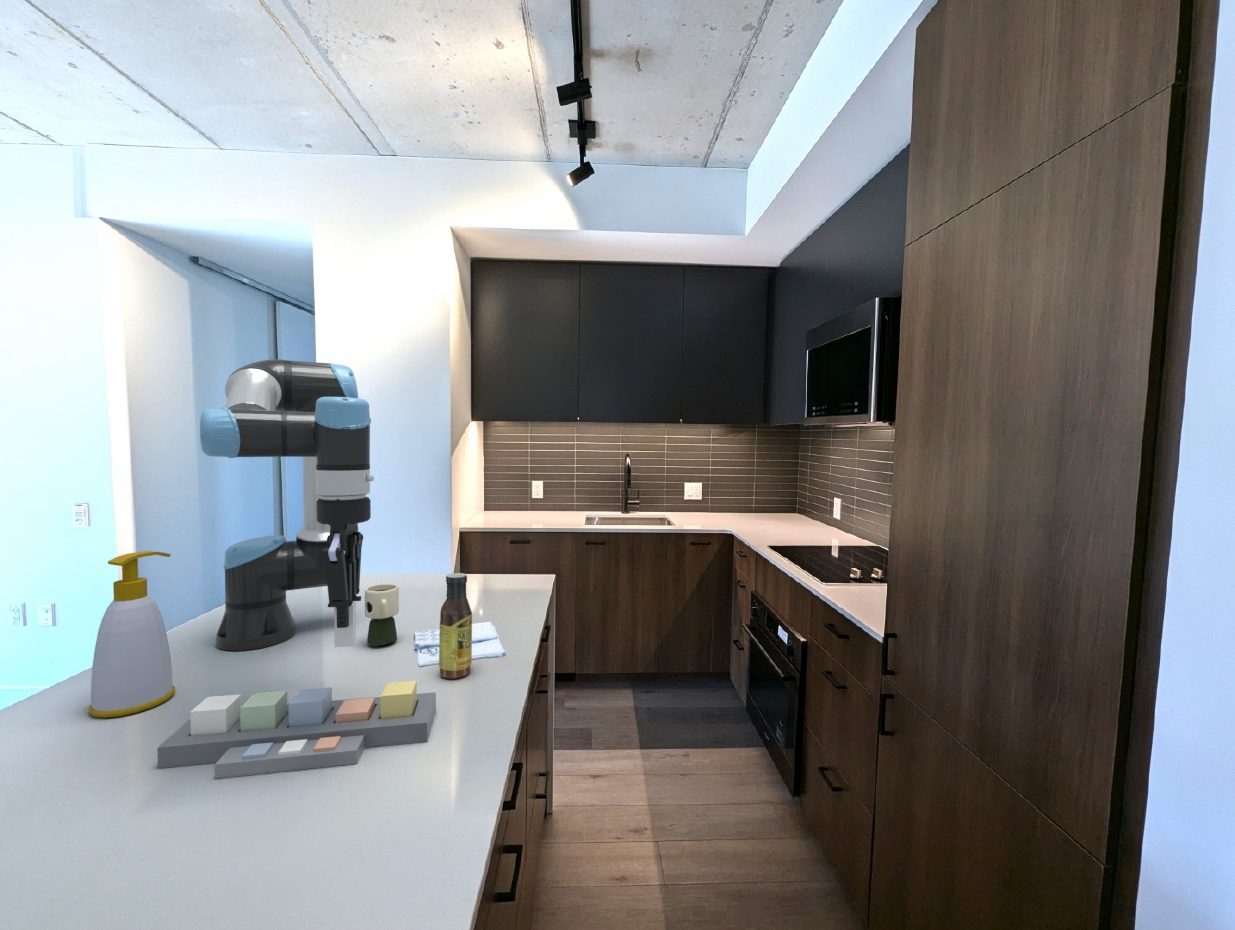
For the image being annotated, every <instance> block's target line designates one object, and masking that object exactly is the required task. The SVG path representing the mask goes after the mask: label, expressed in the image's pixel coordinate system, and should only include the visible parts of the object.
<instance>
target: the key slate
mask: <svg viewBox="0 0 1235 930" xmlns="http://www.w3.org/2000/svg"><path fill="white" fill-rule="evenodd" d="M332 688H333V687H332V686H331V687H329V686H328V687H318V688H317V687H315V688H305V689H302V688H301V689H300V690H298V692H297V693H296V694H295V696H294V697H293V698H292V699H291V700H290V702H288V704H289V727H298V726H309V725H320V724H324V723H325V721H326V720H327V718H328V717H329V715H330V714H331V712H332V701H333V689H332Z"/></svg>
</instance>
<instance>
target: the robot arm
mask: <svg viewBox="0 0 1235 930" xmlns="http://www.w3.org/2000/svg"><path fill="white" fill-rule="evenodd" d="M224 393H225V397H226V402H225V405H224V407H220V408H206V409H204V410H202V412H201V414H200V418H199V419H200V420H199V439H200V447H201V450H202V452H203V453H204V454H205V455H206V456H208V457H218V458H220V457H221V458H223V457H224V458H229V459H235V458H280V457H281V458H282V457H283V458H284V457H285V458H286V457H289V458H290V457H292V458H295V457H296V458H301V457H302V458H303V459H302V471H303V473H302V477H303V478H302V483H303V485H302V487H303V488H302V489H303V491H302V492H303V495H302V496H303V497H302V499H303V500H302V501H303V508H302V510H303V511H302V512H303V526H302V527H301V528H299V530H298V531H297V532H296V534H295V537H296V538H295V540H288V541H287V538H286V537H285V536H284V535H281V534H277V535H275V534H274V535H266V536H259V537H253V538H250V539H246V540H242V541H239V542H235V543H234V544H231V545H230V546H228V547H227V548H226V550H225V553H224V565H223V570H224V600H225V601H224V603H225V606H224V607H225V611H224V613H223V616H222V619H221V622H220V624H219V627H218V630H217V633H216V636H215V643H216V644H215V645H216V648H217V649H220V650H223V651H229V652H234V651H235V652H236V651H238V652H239V651H250V650H257V649H261V648H266V647H271V646H274V645H277V644H280V643H282V642H285V641H287V640H289V639H291V638H292V637H293V636H294V635H296V622H295V620H294V616H293V614H292V613H291V610H290V608H289V605H288V603H287V592H288V591H296V590H303V589H312V588H321V587H327V594H328V595H327V596H328V604H327V608H333V612H334V613H333V614H334V615H333V617H334V623H333V624H334V631H333V632H334V648H343V647H344V648H345V647H348V648H349V647H354V645H355V644H357V623H356V622H357V621H356V619H357V618H356V617H357V615H356V614H357V611H356V607H357V606H356V602H361V601H362V596H361V595H359V593H360V591H361V590H360V586H361V585H360V583H361V582H360V581H361V564H362V563H361V562H362V547H363V540H364V535H363V533H362V532H361V531H359V527H358V526H359V525H358V524H361V523H365V522H368V521H369V520H370V519H371V509H372V508H371V504H372V503H371V499H370V497H369V496H367V495H369V494H370V492H371V482H373V481H374V480H375V477H374V475H372V474H371V471H370V469H371V464H370V461H371V460H370V458H371V457H370V455H371V453H370V449H371V448H370V447H371V444H370V443H371V439H370V438H371V423H372V418H371V417H370V415H371V414H370V404H369V402H368V401H367V400H366V399H363V398H359V392H358V386H357V381H356V376H355V374H354V371H353V370H352V369H351V367H349V366H347V365H343V364H338V363H337V364H336V363H331V362H316V361H313V362H312V361H301V360H286V359H277V358H276V359H274V358H273V359H266V360H265V359H264V360H259V361H255V362H251V363H248V364H245V365H244V366H241V367H239V368H237V369H236V370H235V371H233V372H232V373H231V374H230V375H229V377H228V378H227V380H226V382H225V386H224ZM357 595H359V596H357Z"/></svg>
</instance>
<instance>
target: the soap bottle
mask: <svg viewBox="0 0 1235 930" xmlns="http://www.w3.org/2000/svg"><path fill="white" fill-rule="evenodd" d="M171 555H172V554H171V553H167V552H162V551H153V550H145V551H144V550H143V551H136V552H129V553H125V554H122V555H118V556H116V557H114V558H111V559H110V560H108V561H107V564H108V565H112V566H120V567H121V573H122V575H121V577H122V579H120V580H119V579H118V580H116V581H113V584H112V585H113V586H112V587H113V599H112V601H111V602H110V604H109V605H108V606H107V607H106V610H105V612H104V614H103V616H102V618H101V621H100V624H99V626H98V630H97V636H96V641H95V646H94V651H93V659H92V665H91V677H90V678H91V679H90V681H91V682H90V703H91V704H90V705H89V707H88V713H89V715H91V716H93V717H96V718H103V719H104V718H115V717H122V716H127V715H128V716H129V715H132V714H136V713H140V712H144V711H145V710H148V709H151V708H155V707H157V706H158V705H161V704H162V703H165V702H167V701H168V700H169V699H171V698H172V697H173V695H175V690H176V686H175V685H173V667H172V665H173V664H172V659H171V649H170V645H169V640H168V635H167V630H166V627H165V626H166V625H165V623H164V618H163V616H162V613H161V611H160V608H159V606H158V605H157V604H156V601H155V600H154V599H153V598H152V597H151V596H150V595H148V578H146V577H139V562H138V561H139V558H144V557H152V556H161V557H167V558H170V557H171Z"/></svg>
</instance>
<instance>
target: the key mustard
mask: <svg viewBox="0 0 1235 930" xmlns="http://www.w3.org/2000/svg"><path fill="white" fill-rule="evenodd" d="M417 684H418V683H417V680H409V681H408V680H407V681H396V682H393V681H392V682H386V685H385V686H384V689H383V691H382V692H381V695H380V697H381V719H387V718H398V717H409V716H413V713H414V710H415V708H416V705H417V694H418V693H417V692H418V691H417V689H418V687H417Z"/></svg>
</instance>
